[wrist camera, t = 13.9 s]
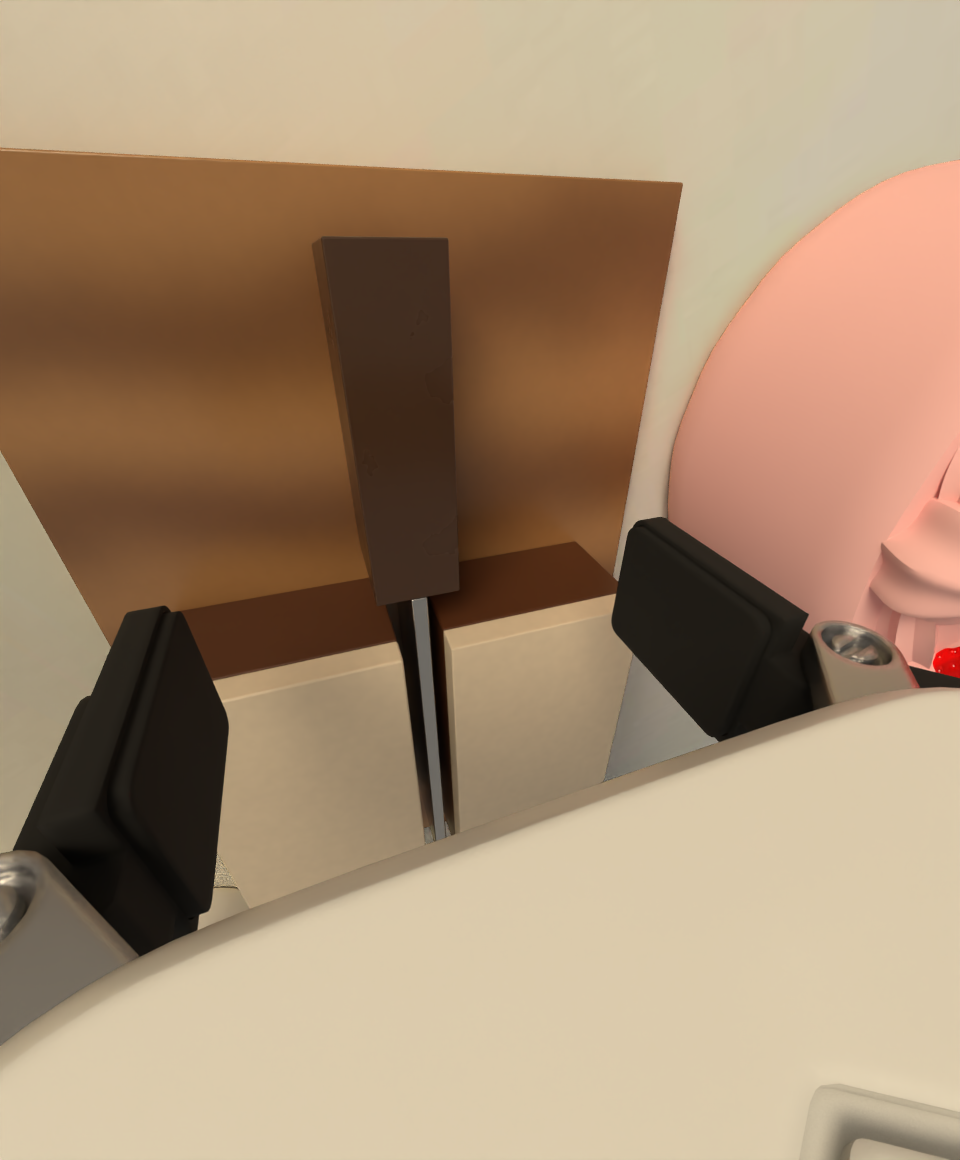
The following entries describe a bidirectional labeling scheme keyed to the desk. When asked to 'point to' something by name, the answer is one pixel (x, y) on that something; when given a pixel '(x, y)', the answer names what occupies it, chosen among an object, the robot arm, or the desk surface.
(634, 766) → the desk surface
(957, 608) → the cake
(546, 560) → the cake
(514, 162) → the desk surface
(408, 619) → the knife
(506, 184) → the cake board
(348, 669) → the cake
